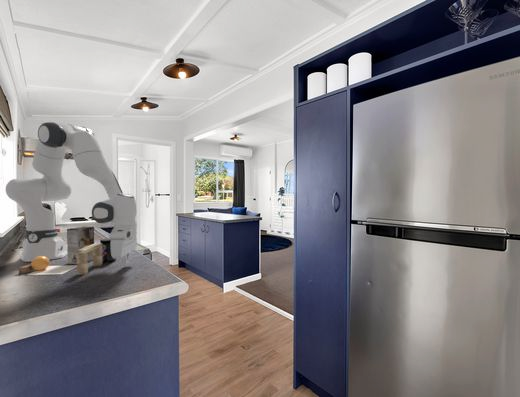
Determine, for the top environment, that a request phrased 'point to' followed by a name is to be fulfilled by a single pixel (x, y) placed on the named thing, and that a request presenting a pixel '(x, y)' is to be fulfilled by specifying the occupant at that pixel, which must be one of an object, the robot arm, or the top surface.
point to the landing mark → (54, 270)
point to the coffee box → (79, 242)
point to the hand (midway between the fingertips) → (125, 263)
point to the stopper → (25, 269)
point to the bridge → (83, 257)
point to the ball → (40, 263)
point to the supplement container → (106, 250)
